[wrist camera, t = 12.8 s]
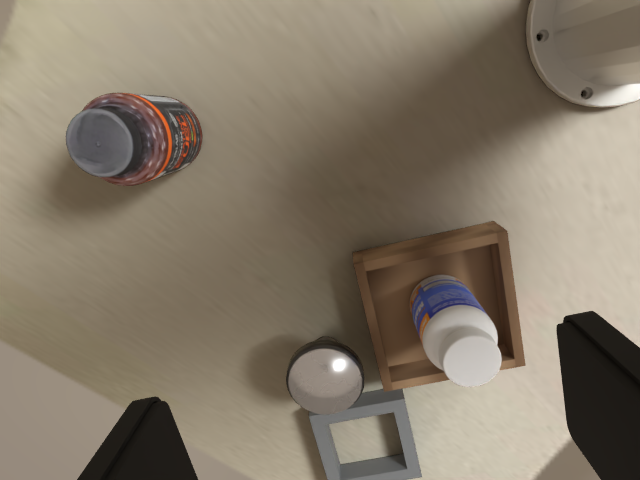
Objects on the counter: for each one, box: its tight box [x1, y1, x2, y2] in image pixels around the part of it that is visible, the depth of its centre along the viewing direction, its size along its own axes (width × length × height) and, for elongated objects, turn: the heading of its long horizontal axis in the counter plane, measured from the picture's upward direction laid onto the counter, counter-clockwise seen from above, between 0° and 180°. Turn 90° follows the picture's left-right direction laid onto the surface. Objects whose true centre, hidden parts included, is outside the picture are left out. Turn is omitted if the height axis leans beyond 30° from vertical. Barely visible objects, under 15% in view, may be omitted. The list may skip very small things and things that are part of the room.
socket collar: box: [309, 389, 422, 480], centre depth 43 cm, size 9×9×2 cm
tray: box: [353, 221, 525, 392], centre depth 39 cm, size 12×12×3 cm
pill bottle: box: [409, 275, 502, 387], centre depth 35 cm, size 6×5×10 cm
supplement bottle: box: [66, 93, 202, 186], centre depth 31 cm, size 6×6×11 cm
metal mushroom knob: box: [286, 336, 364, 415], centre depth 39 cm, size 6×6×6 cm
